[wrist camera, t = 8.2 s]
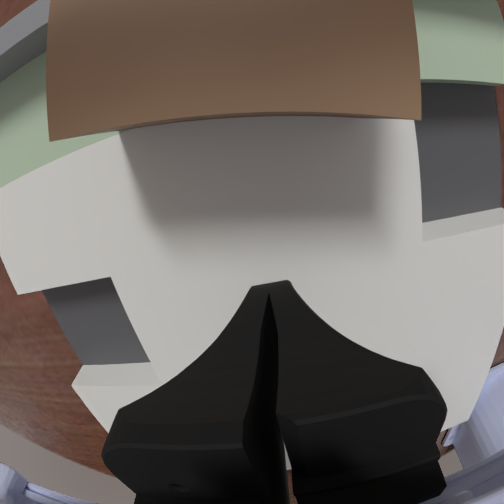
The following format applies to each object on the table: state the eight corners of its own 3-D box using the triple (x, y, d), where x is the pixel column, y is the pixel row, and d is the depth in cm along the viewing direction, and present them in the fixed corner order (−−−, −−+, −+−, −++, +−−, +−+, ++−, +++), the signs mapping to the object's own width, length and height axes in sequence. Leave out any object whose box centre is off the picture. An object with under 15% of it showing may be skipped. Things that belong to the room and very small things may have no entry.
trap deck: (458, 401, 18) (478, 439, 14) (149, 452, 20) (139, 493, 16) (462, -19, 7) (510, -41, 4) (-14, 90, 10) (-69, 95, 6)
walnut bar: (362, 118, 9) (421, 120, 5) (118, 130, 9) (49, 142, 6) (355, 7, 7) (403, -40, 4) (115, 23, 8) (51, -11, 4)
